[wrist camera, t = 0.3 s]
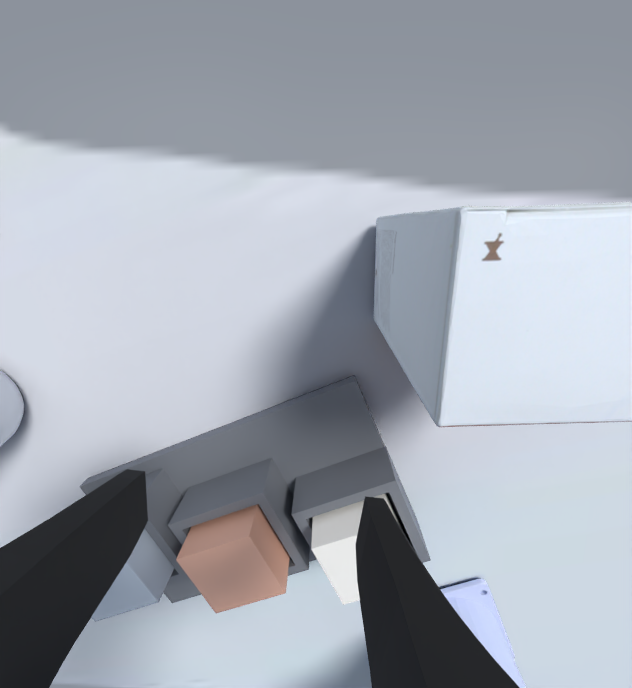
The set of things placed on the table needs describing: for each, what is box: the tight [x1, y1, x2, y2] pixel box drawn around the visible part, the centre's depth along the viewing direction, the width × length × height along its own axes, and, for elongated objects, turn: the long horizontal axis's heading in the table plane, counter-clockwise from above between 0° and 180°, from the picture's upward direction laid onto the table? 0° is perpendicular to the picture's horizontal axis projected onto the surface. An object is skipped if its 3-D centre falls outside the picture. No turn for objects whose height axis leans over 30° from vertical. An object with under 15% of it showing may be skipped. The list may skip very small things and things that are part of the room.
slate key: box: [91, 528, 174, 621], centre depth 19 cm, size 4×4×2 cm
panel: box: [80, 376, 430, 603], centre depth 21 cm, size 12×20×4 cm, turn 114°
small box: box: [374, 202, 632, 427], centre depth 12 cm, size 8×6×10 cm
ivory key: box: [311, 493, 404, 605], centre depth 18 cm, size 4×4×2 cm
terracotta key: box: [176, 504, 290, 613], centre depth 18 cm, size 4×4×2 cm
